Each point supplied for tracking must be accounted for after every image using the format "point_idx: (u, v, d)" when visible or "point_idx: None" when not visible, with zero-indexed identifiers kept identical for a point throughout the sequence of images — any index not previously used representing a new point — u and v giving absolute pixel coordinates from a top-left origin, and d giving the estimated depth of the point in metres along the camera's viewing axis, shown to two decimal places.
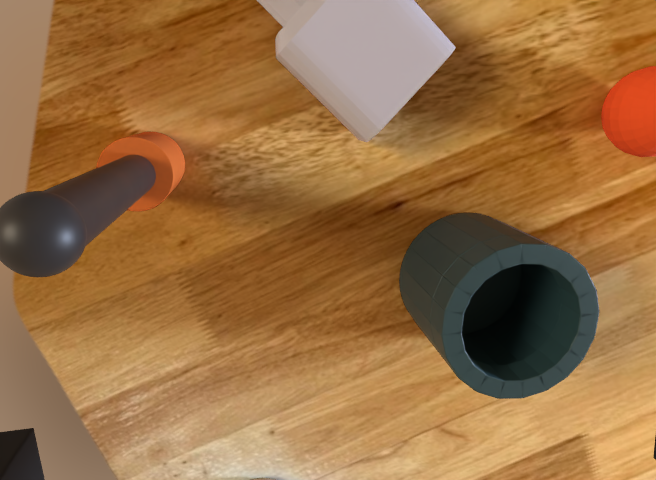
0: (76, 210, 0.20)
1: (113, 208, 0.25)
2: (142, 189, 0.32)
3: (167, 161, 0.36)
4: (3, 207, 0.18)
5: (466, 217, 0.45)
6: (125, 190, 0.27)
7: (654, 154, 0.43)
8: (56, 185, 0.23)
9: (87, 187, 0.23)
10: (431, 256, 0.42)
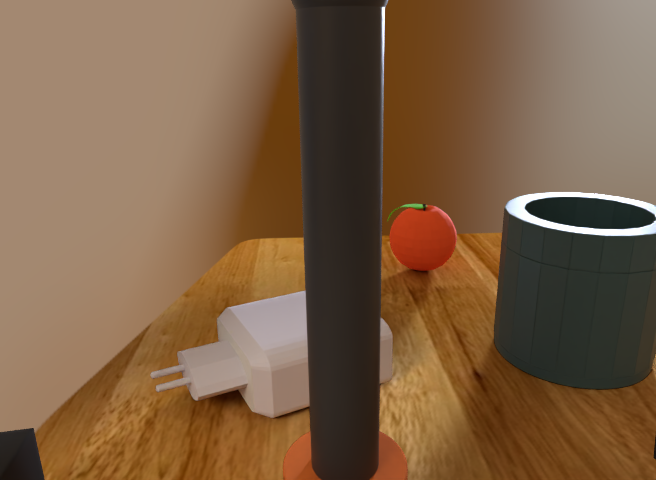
0: None
1: None
2: None
3: None
4: None
5: (495, 319, 0.44)
6: None
7: (453, 228, 0.57)
8: (299, 113, 0.17)
9: None
10: (529, 308, 0.39)
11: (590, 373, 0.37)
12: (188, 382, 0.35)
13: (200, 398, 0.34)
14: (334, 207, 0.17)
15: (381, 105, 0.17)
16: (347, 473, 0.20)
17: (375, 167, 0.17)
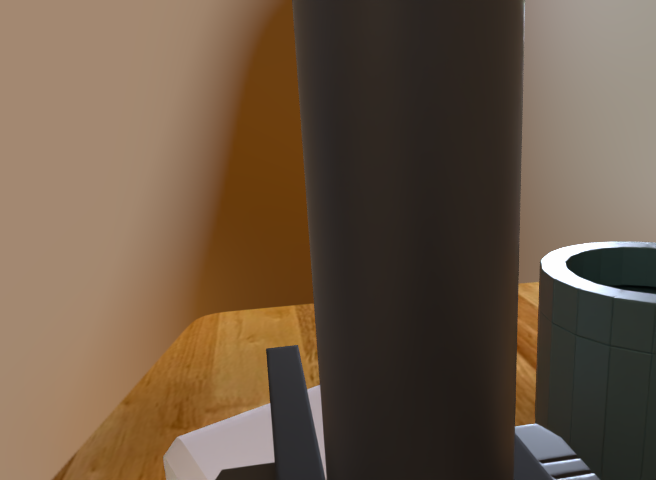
0: None
1: None
2: None
3: None
4: None
5: (537, 414, 0.33)
6: None
7: None
8: (304, 159, 0.07)
9: None
10: (595, 406, 0.28)
11: None
12: None
13: None
14: (418, 405, 0.06)
15: None
16: None
17: (514, 288, 0.07)
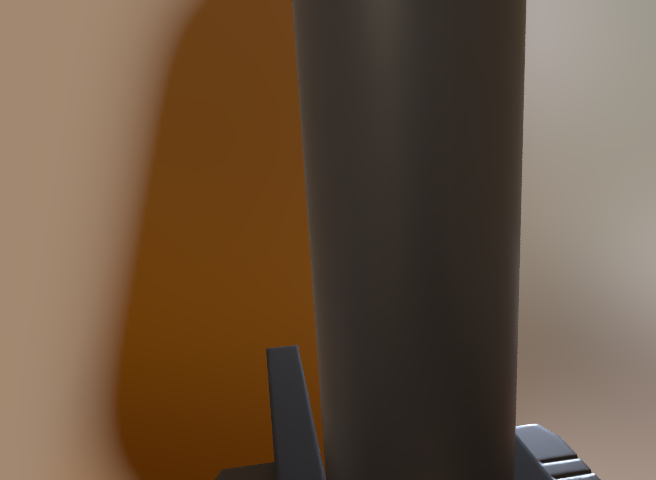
0: None
1: None
2: None
3: None
4: None
5: None
6: None
7: None
8: (304, 160, 0.07)
9: None
10: None
11: None
12: None
13: None
14: (418, 406, 0.06)
15: None
16: None
17: (514, 289, 0.07)
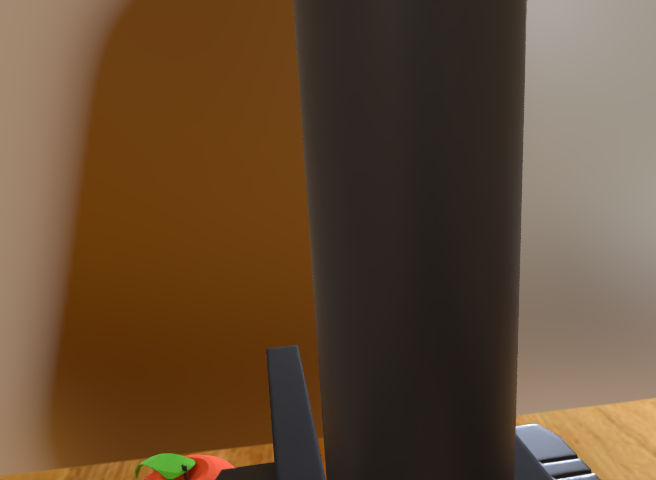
0: None
1: None
2: None
3: None
4: None
5: None
6: None
7: None
8: (305, 159, 0.07)
9: None
10: None
11: None
12: None
13: None
14: (418, 406, 0.06)
15: None
16: None
17: (515, 289, 0.07)
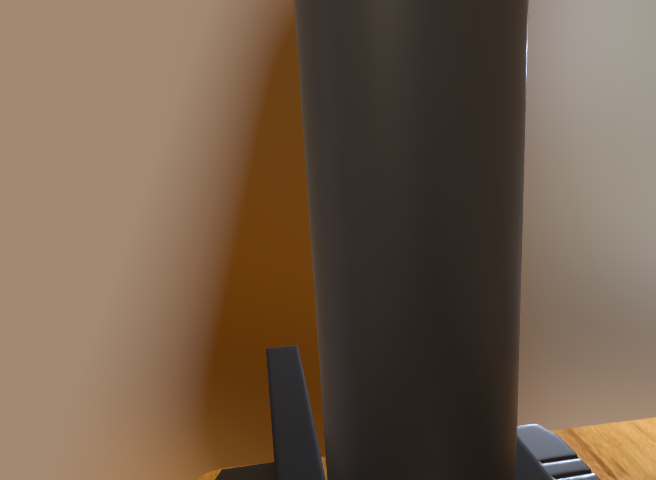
0: None
1: None
2: None
3: None
4: None
5: None
6: None
7: None
8: (306, 159, 0.07)
9: None
10: None
11: None
12: None
13: None
14: (420, 406, 0.06)
15: None
16: None
17: (517, 289, 0.06)
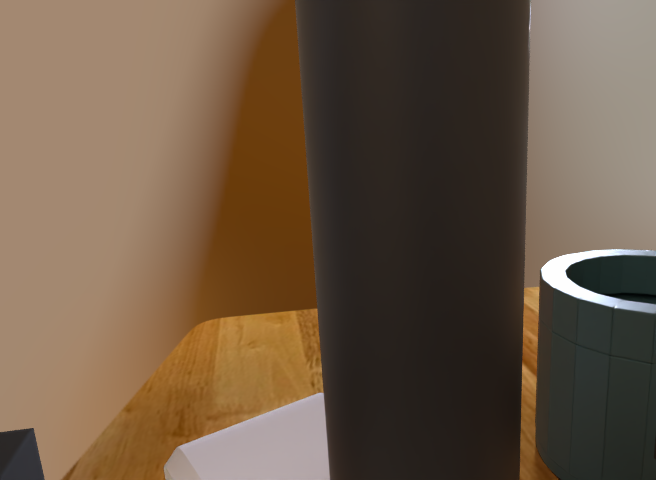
0: None
1: None
2: None
3: None
4: None
5: (538, 422, 0.33)
6: None
7: None
8: (310, 202, 0.07)
9: None
10: (595, 415, 0.28)
11: None
12: None
13: None
14: (424, 448, 0.06)
15: None
16: None
17: (519, 330, 0.07)
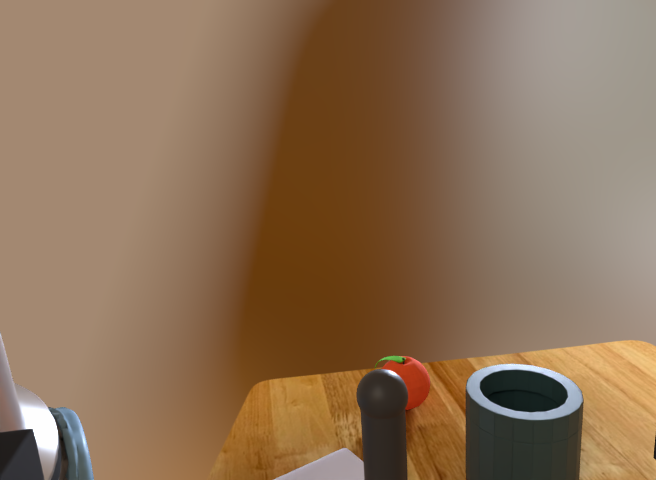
0: None
1: None
2: None
3: None
4: (360, 391, 0.32)
5: (466, 464, 0.60)
6: None
7: (427, 376, 0.73)
8: (363, 454, 0.33)
9: None
10: (489, 464, 0.55)
11: None
12: None
13: None
14: None
15: (405, 450, 0.33)
16: None
17: None
